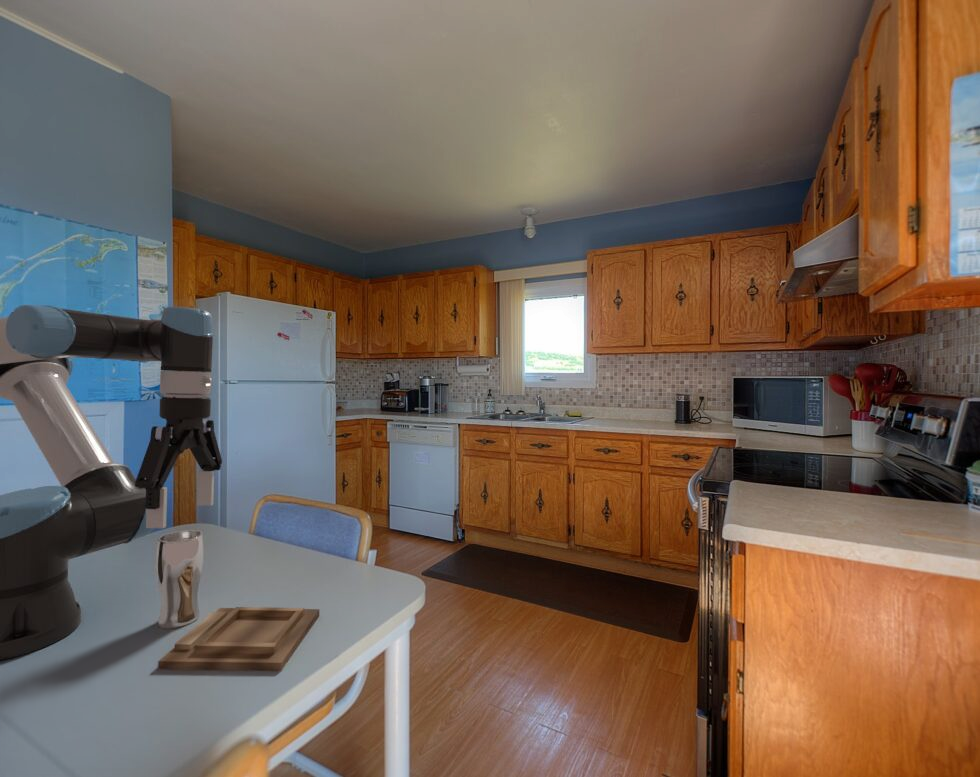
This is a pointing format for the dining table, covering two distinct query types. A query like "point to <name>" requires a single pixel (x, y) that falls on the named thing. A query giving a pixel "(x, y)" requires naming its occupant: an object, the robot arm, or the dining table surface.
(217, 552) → the dining table surface
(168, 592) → the beer glass
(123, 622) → the dining table surface
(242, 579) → the dining table surface
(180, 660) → the tray
